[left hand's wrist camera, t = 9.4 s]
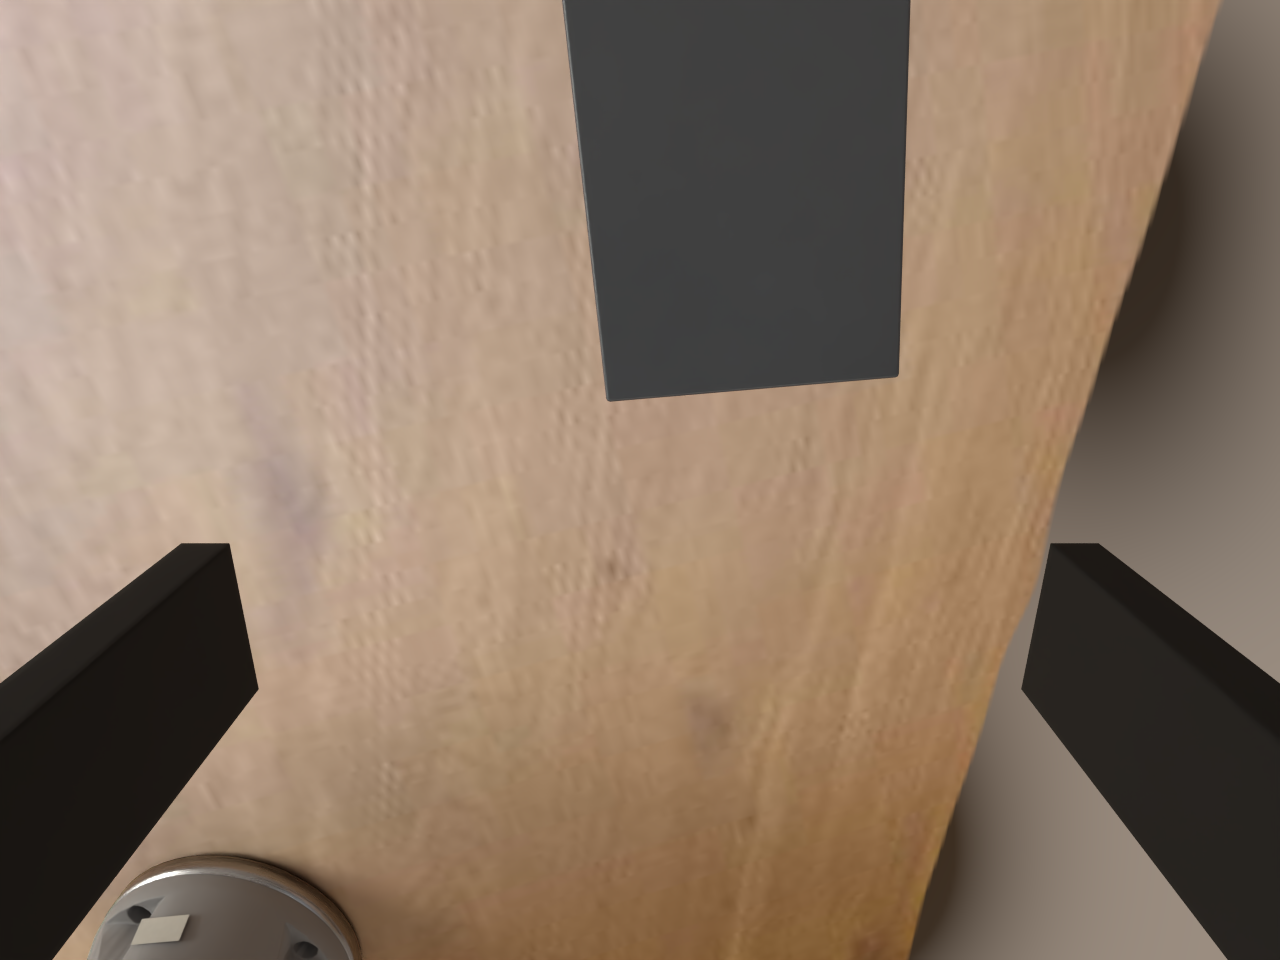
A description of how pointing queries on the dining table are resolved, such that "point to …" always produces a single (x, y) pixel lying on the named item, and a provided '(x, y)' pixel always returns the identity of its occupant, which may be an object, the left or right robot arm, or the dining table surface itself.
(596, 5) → the bar
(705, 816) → the dining table surface
